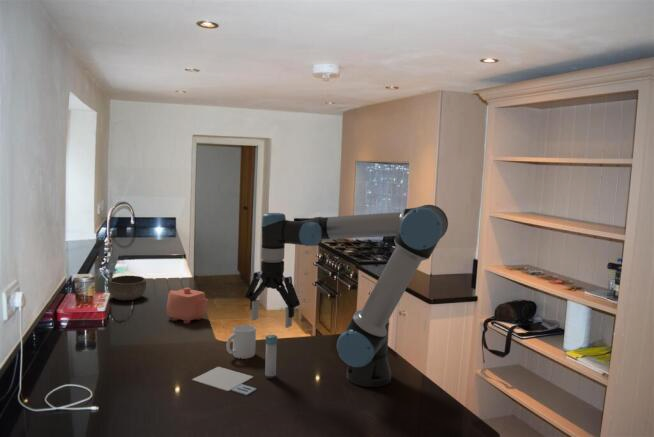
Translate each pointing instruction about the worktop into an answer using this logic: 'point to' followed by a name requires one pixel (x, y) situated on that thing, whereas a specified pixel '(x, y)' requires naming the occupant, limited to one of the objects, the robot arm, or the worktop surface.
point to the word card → (243, 389)
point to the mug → (242, 341)
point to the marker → (270, 356)
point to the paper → (222, 378)
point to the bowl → (127, 287)
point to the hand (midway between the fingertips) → (271, 323)
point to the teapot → (186, 305)
